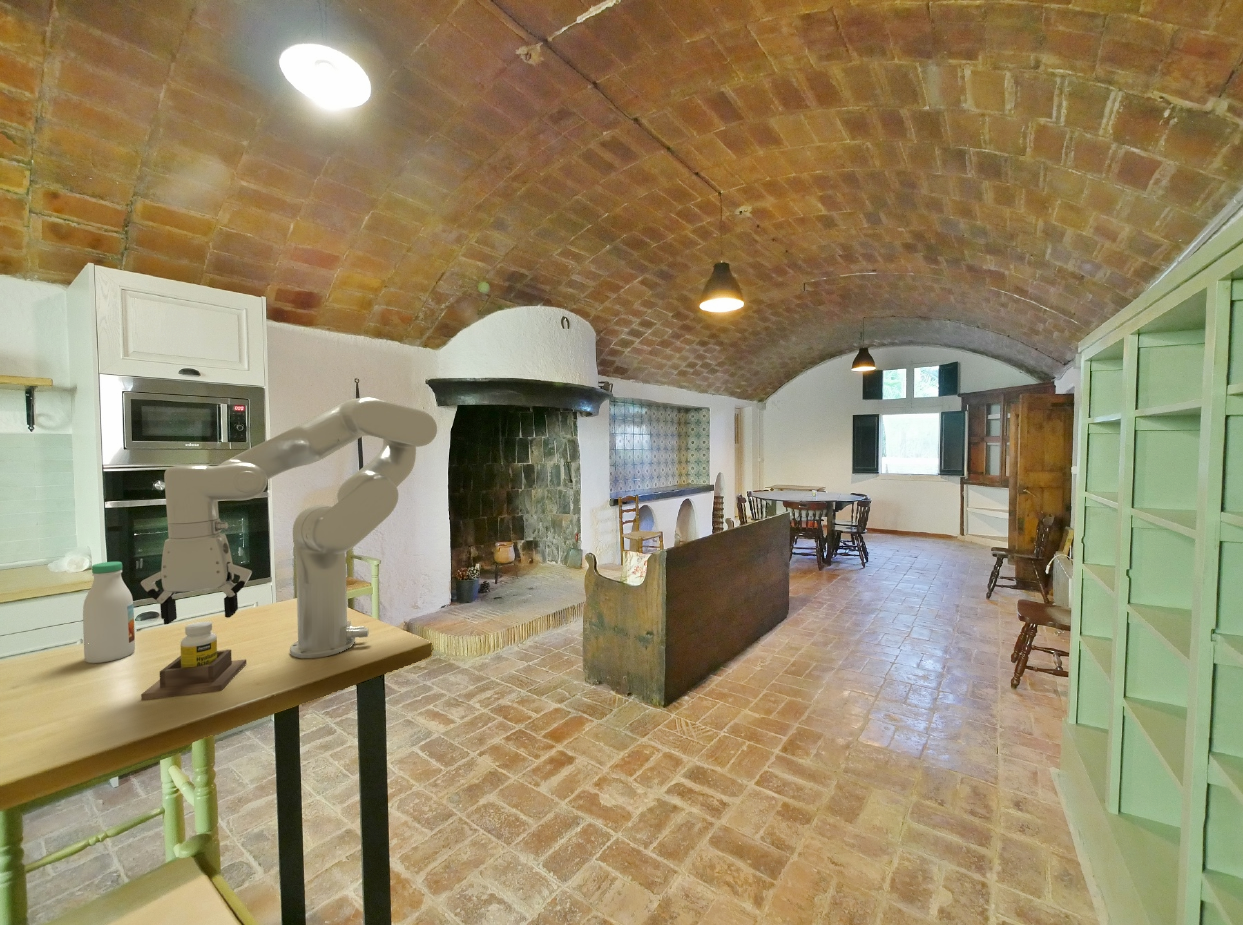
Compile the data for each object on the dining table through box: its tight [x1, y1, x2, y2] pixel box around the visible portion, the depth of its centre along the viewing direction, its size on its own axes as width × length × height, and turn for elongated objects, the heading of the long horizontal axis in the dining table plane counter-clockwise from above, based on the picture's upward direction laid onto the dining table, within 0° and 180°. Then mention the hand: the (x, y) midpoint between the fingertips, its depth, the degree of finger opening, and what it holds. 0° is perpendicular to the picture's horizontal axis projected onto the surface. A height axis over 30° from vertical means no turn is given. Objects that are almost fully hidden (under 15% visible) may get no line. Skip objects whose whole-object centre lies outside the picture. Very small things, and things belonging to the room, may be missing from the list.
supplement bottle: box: [180, 620, 218, 668], centre depth 100 cm, size 5×5×10 cm
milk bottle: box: [82, 561, 136, 664], centre depth 111 cm, size 8×8×20 cm
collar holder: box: [140, 649, 247, 701], centre depth 100 cm, size 12×12×4 cm
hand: (201, 618), depth 101 cm, fingers open, 9 cm apart
